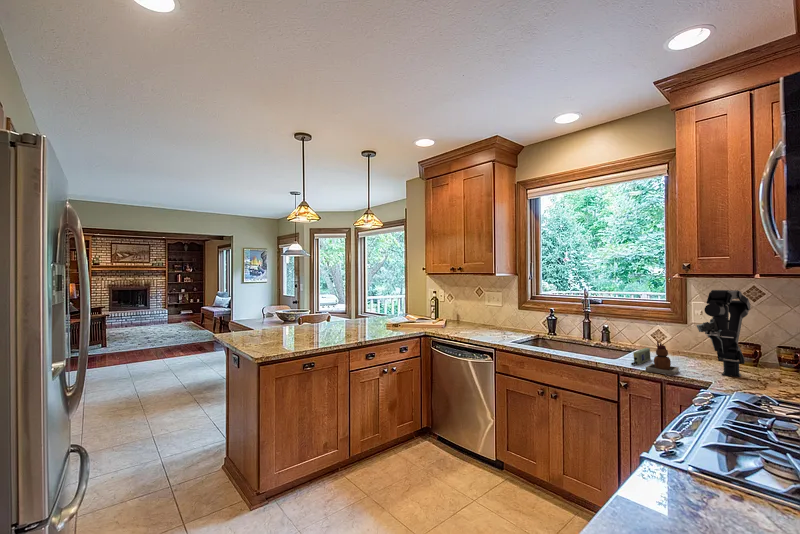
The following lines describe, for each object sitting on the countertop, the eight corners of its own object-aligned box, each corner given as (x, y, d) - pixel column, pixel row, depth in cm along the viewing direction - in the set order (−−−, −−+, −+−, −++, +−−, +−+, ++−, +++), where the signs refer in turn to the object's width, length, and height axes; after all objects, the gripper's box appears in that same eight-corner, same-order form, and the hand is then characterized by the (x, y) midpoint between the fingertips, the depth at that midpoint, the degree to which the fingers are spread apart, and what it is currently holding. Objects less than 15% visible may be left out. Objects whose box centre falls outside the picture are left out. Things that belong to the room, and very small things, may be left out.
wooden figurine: (654, 372, 189) (653, 341, 190) (653, 369, 194) (652, 339, 195) (671, 373, 186) (670, 342, 186) (670, 370, 191) (669, 340, 191)
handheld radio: (651, 359, 217) (636, 367, 201) (645, 359, 220) (629, 366, 203) (650, 348, 218) (635, 354, 201) (644, 347, 220) (628, 353, 204)
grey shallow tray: (651, 367, 198) (651, 363, 198) (678, 371, 190) (678, 367, 190) (645, 371, 191) (645, 367, 191) (673, 375, 182) (673, 371, 182)
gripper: (692, 315, 187) (691, 348, 185) (706, 316, 169) (706, 351, 168) (720, 317, 182) (720, 351, 181) (738, 318, 165) (738, 355, 164)
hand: (720, 352), depth 174 cm, fingers open, 9 cm apart
